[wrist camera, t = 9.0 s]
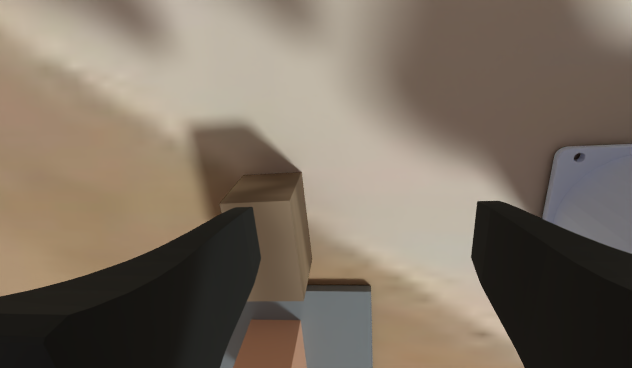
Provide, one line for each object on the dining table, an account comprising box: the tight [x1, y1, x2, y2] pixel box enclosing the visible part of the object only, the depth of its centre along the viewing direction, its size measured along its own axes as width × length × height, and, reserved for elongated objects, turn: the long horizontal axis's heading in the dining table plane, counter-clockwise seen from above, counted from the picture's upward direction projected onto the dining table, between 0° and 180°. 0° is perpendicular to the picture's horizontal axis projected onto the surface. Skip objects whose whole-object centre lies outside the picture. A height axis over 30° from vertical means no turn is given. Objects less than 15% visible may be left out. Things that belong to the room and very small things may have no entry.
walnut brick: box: [220, 172, 312, 301], centre depth 19 cm, size 4×6×4 cm, turn 6°
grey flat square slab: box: [220, 285, 373, 368], centre depth 25 cm, size 13×12×1 cm
